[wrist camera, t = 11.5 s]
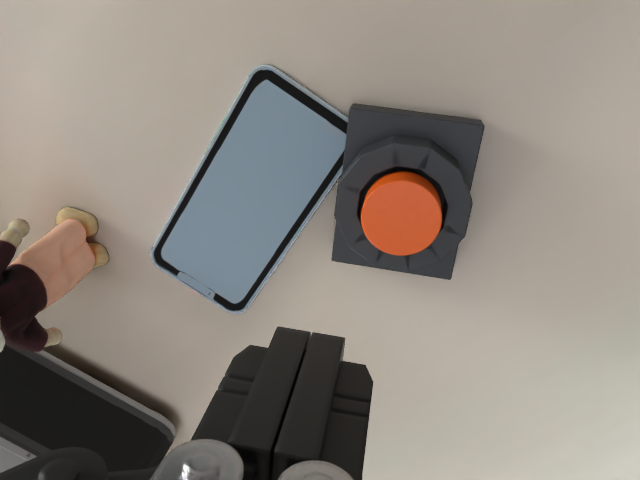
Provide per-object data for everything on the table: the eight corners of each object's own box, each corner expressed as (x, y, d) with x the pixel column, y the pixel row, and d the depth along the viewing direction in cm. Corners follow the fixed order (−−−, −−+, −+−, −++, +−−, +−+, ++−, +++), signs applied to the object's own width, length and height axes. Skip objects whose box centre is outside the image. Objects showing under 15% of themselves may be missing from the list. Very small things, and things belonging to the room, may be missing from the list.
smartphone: (370, 133, 31) (240, 320, 37) (371, 130, 31) (244, 313, 37) (257, 56, 30) (144, 259, 36) (261, 55, 31) (149, 254, 37)
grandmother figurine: (35, 200, 36) (-145, 291, 25) (83, 185, 35) (-79, 272, 24) (87, 301, 39) (-53, 428, 27) (134, 290, 38) (9, 416, 26)
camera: (-13, 372, 45) (-124, 486, 37) (-9, 314, 39) (-138, 433, 32) (157, 465, 46) (84, 594, 38) (185, 421, 40) (105, 561, 33)
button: (369, 165, 28) (366, 175, 27) (447, 176, 28) (449, 186, 26) (359, 236, 30) (355, 249, 28) (433, 248, 30) (434, 261, 28)
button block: (352, 103, 30) (345, 114, 27) (481, 119, 30) (489, 133, 26) (334, 251, 34) (326, 276, 31) (449, 269, 33) (452, 297, 30)
